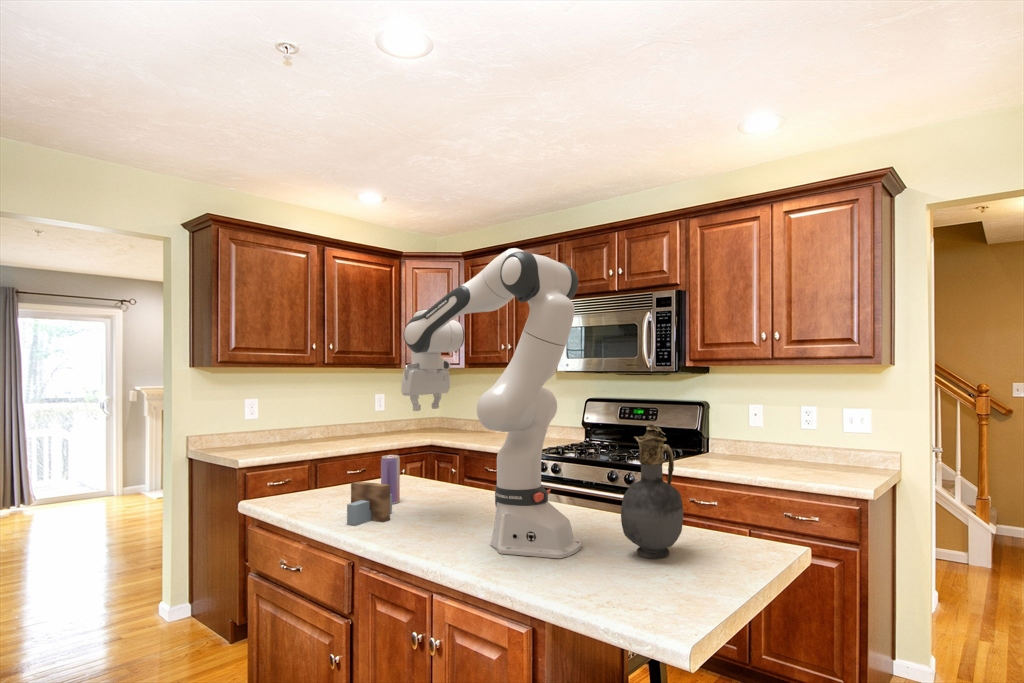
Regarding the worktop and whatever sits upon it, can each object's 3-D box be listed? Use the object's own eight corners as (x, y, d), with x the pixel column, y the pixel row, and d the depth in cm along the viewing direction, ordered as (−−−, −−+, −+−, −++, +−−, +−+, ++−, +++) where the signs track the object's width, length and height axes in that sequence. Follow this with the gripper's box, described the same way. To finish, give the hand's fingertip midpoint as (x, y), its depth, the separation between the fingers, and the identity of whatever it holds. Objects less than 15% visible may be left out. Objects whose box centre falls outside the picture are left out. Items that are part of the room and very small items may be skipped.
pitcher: (615, 557, 136) (613, 425, 138) (653, 538, 151) (651, 419, 152) (659, 567, 130) (657, 428, 131) (694, 546, 144) (692, 422, 146)
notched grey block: (391, 513, 180) (392, 494, 180) (355, 525, 166) (355, 505, 166) (384, 512, 181) (384, 493, 182) (347, 524, 167) (347, 504, 167)
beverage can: (389, 505, 190) (389, 458, 191) (377, 503, 193) (377, 456, 194) (403, 502, 195) (403, 455, 195) (391, 499, 198) (391, 454, 199)
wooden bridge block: (390, 519, 172) (390, 484, 173) (383, 522, 169) (383, 486, 170) (357, 515, 178) (358, 481, 178) (350, 517, 175) (351, 483, 175)
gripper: (413, 363, 169) (413, 412, 168) (453, 363, 187) (453, 407, 187) (396, 363, 172) (395, 411, 171) (436, 363, 190) (436, 407, 189)
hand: (426, 409), depth 179 cm, fingers open, 8 cm apart
